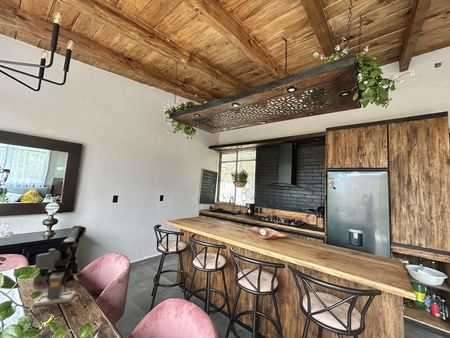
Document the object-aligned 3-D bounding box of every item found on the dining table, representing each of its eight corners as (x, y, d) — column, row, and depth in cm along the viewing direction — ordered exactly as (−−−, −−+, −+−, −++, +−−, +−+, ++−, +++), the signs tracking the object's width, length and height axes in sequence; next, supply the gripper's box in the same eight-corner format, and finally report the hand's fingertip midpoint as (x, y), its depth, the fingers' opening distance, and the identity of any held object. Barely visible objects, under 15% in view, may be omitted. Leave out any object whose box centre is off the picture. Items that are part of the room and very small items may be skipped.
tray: (40, 298, 118) (40, 295, 118) (74, 293, 125) (75, 290, 125) (33, 306, 110) (33, 303, 110) (70, 301, 117) (70, 298, 117)
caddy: (50, 294, 119) (53, 273, 120) (62, 293, 121) (64, 272, 122) (46, 299, 114) (49, 277, 115) (58, 298, 116) (61, 276, 117)
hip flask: (33, 283, 134) (37, 252, 136) (32, 280, 137) (36, 250, 139) (63, 276, 146) (66, 247, 148) (62, 274, 149) (65, 246, 150)
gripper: (42, 254, 119) (30, 282, 108) (80, 252, 127) (72, 278, 116) (46, 263, 126) (35, 290, 115) (82, 260, 133) (75, 285, 122)
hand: (55, 285), depth 117 cm, fingers closed on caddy, 5 cm apart
